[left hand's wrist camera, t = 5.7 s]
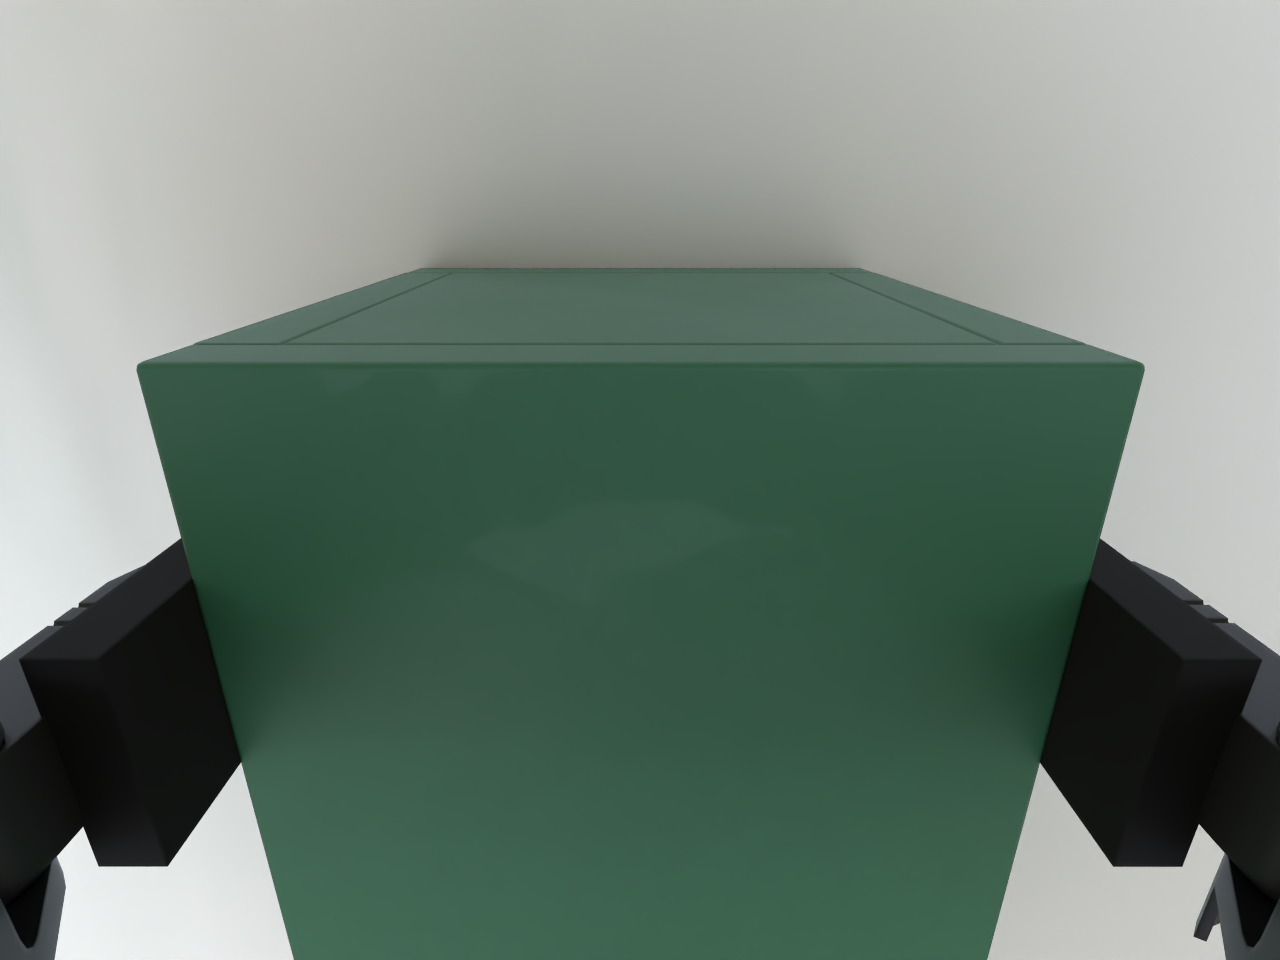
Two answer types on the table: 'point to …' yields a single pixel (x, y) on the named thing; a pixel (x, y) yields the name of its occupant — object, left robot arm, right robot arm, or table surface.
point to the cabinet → (640, 604)
